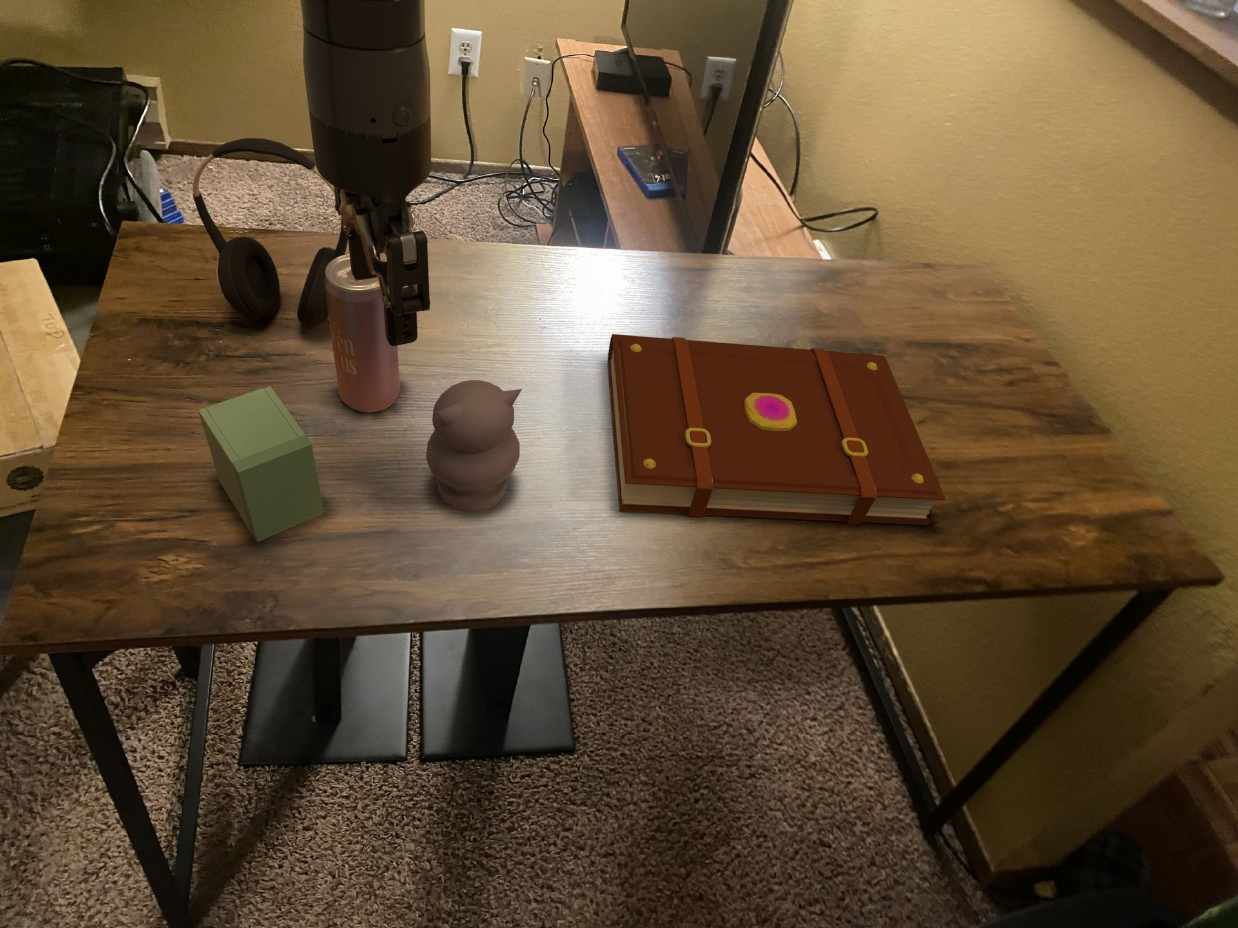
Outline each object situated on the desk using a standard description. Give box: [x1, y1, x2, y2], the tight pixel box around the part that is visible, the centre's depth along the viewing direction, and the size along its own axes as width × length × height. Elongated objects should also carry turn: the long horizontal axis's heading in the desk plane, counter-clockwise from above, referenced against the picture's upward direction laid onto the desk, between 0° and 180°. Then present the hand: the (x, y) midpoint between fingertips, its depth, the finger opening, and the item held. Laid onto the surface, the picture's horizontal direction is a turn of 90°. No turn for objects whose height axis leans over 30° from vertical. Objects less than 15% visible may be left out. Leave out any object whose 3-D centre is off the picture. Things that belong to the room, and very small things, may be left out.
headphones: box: [192, 137, 350, 328], centre depth 84 cm, size 9×15×20 cm, turn 90°
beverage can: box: [324, 253, 401, 413], centre depth 79 cm, size 6×6×15 cm
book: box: [607, 333, 947, 526], centre depth 87 cm, size 23×32×5 cm
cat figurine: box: [425, 379, 523, 513], centre depth 74 cm, size 8×8×12 cm
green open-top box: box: [198, 385, 325, 543], centre depth 71 cm, size 8×6×9 cm
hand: (383, 308), depth 65 cm, fingers open, 8 cm apart
